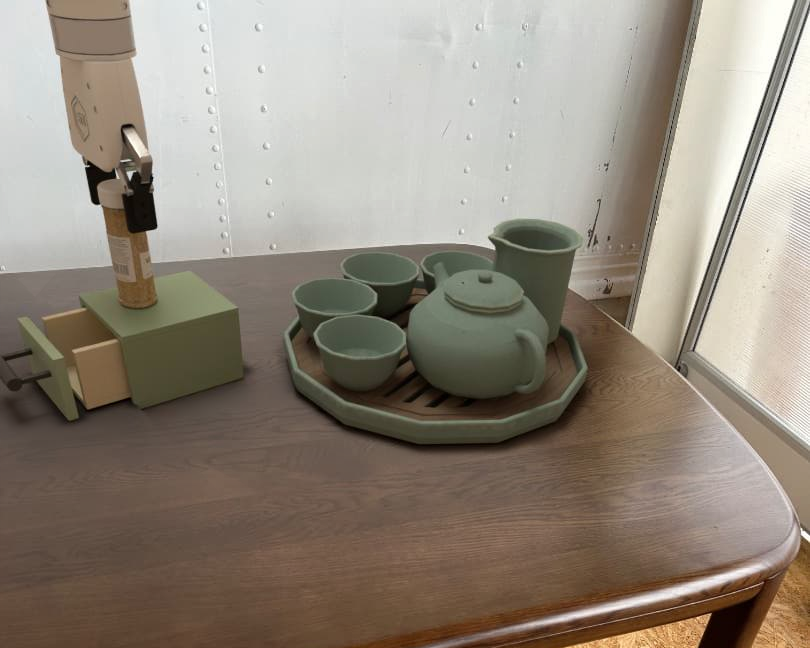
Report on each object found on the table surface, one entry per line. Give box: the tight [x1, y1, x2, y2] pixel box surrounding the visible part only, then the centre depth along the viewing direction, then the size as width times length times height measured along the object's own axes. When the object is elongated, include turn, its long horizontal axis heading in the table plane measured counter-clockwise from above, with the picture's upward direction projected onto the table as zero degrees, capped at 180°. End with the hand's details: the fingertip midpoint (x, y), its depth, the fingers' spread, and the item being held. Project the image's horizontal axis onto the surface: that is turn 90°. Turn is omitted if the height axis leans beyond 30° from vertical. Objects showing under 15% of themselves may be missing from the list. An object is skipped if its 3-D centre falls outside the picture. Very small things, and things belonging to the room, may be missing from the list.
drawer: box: [0, 307, 131, 421], centre depth 92 cm, size 18×11×8 cm, turn 128°
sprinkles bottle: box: [97, 178, 158, 308], centre depth 90 cm, size 5×5×14 cm
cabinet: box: [78, 270, 245, 410], centre depth 98 cm, size 15×13×10 cm
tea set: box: [282, 218, 589, 445], centre depth 101 cm, size 40×40×16 cm
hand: (124, 216), depth 87 cm, fingers open, 9 cm apart
